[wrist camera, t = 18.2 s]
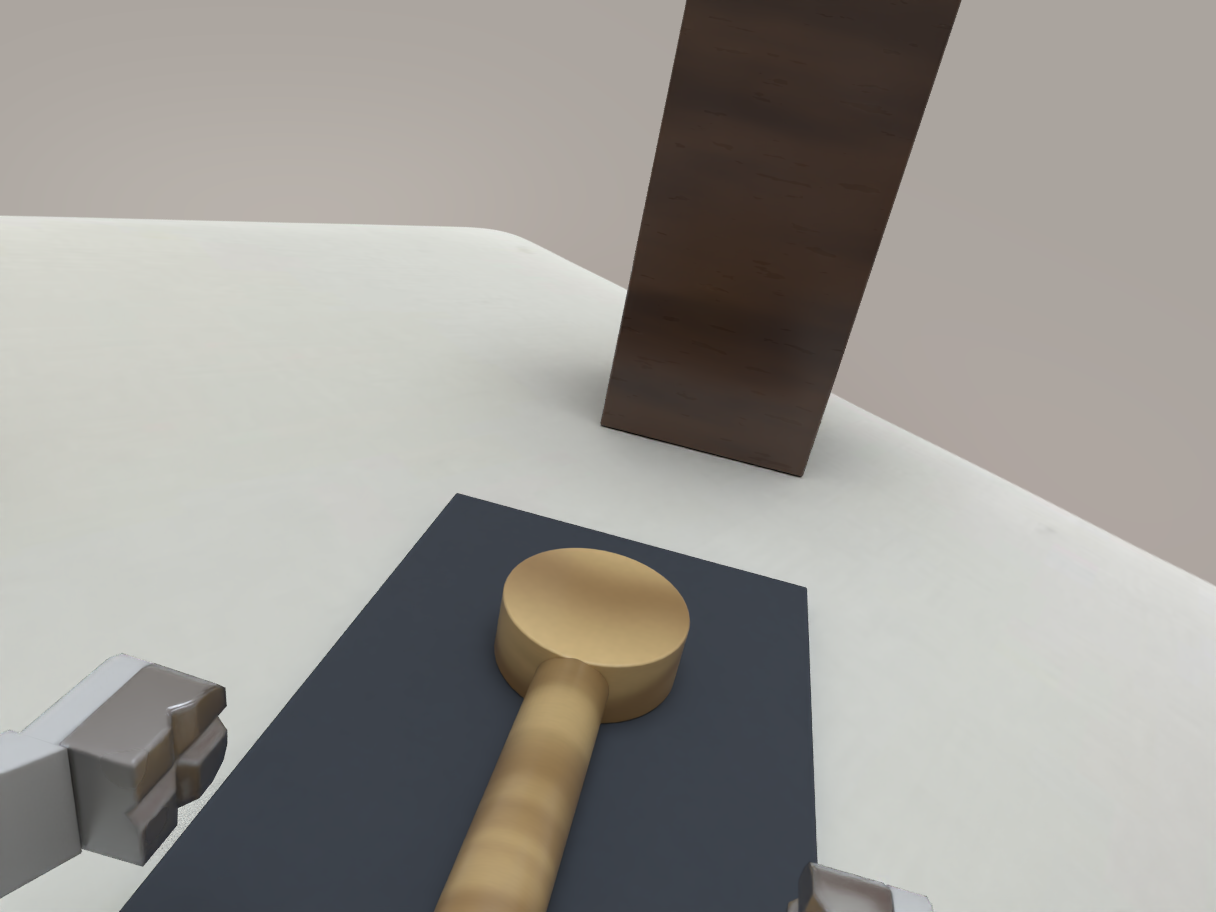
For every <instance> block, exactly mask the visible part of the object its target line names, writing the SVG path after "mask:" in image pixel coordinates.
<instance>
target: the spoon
mask: <svg viewBox="0 0 1216 912" xmlns="http://www.w3.org/2000/svg"><path fill="white" fill-rule="evenodd" d="M689 628H690V617H689V611H688V608H687V605H686V603H685V601H684V599H683V597H682V596H681V595H680V593H679V592H678V590H677V589H676V588H675V587H674V586H673V585H672V584H671V583H670V582H669V581H668V580H667V579H665V578H664V577H663V576H662V575H660V574H659V573H657V572H656V571H655V570H653V569H651V568H649V567H648V566H646V565H644V564H642V563H640V562H638V561H636V560H633V559H631V558H628V557H625V556H622V555H619V554H616V553H612V552H607V551H603V550H596V549H587V548H563V549H555V550H550V551H546V552H542V553H539V554H536V555H534V556H531V557H529V558H528V559H526V560H524V561H523V562H521V563H520V564H518V565H517V566H516V567H515V568H514V569H513V570H512V571H511V573H510V574H509V576H508V577H507V579H506V581H505V584H504V588H503V594H502V600H501V606H500V612H499V618H498V625H497V631H496V637H495V643H494V653H495V658H496V662H497V665H498V667H499V670H500V672H501V673H502V675H503V677H504V679H505V680H506V681H507V682H508V684H509V685H510V686H511V687H512V688H513V689H514V690H515V691H516V692H517V693H518V694H519V695H520V696H522V697H523V698H524V700H523V702H522V704H521V707H520V709H519V712H518V714H517V716H516V719H515V721H514V723H513V726H512V728H511V730H510V733H509V735H508V738H507V740H506V742H505V745H504V747H503V749H502V752H501V754H500V756H499V759H498V761H497V763H496V766H495V768H494V771H493V773H492V775H491V778H490V780H489V782H488V785H487V787H486V789H485V792H484V794H483V796H482V799H481V801H480V804H479V806H478V808H477V811H476V813H475V815H474V818H473V820H472V822H471V825H470V827H469V829H468V832H467V834H466V837H465V839H464V841H463V844H462V846H461V848H460V851H459V853H458V855H457V858H456V860H455V863H454V865H453V867H452V870H451V872H450V874H449V877H448V879H447V881H446V884H445V886H444V888H443V891H442V893H441V896H440V898H439V900H438V903H437V905H436V907H435V910H434V912H546V911H547V908H548V904H549V901H550V898H551V894H552V891H553V887H554V884H555V880H556V877H557V873H558V870H559V866H560V863H561V859H562V856H563V852H564V849H565V845H566V842H567V839H568V835H569V832H570V828H571V825H572V821H573V818H574V814H575V811H576V807H577V804H578V800H579V797H580V793H581V790H582V786H583V783H584V780H585V776H586V773H587V769H588V766H589V762H590V759H591V755H592V752H593V748H594V745H595V741H596V738H597V734H598V731H599V727H600V724H601V723H616V722H622V721H627V720H631V719H634V718H637V717H640V716H642V715H644V714H646V713H648V712H650V711H651V710H653V709H655V708H656V707H657V706H658V705H659V704H661V703H662V702H663V701H664V699H665V698H666V697H667V696H668V694H669V693H670V691H671V689H672V687H673V683H674V680H675V676H676V673H677V670H678V666H679V663H680V659H681V656H682V652H683V649H684V645H685V642H686V639H687V635H688V632H689Z"/></svg>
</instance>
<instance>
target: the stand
mask: <svg viewBox="0 0 1216 912" xmlns="http://www.w3.org/2000/svg"><path fill="white" fill-rule="evenodd" d="M960 3H961V0H686V5H685V10H684V15H683V20H682V25H681V30H680V35H679V40H678V45H677V49H676V55H675V59H674V65H673V69H672V74H671V79H670V84H669V89H668V94H667V99H666V104H665V108H664V114H663V118H662V123H661V128H660V133H659V138H658V143H657V148H656V153H655V158H654V163H653V167H652V172H651V178H650V183H649V187H648V192H647V197H646V202H645V207H644V212H643V217H642V222H641V227H640V232H639V236H638V241H637V246H636V251H635V256H634V261H633V266H632V271H631V276H630V281H629V286H628V291H627V295H626V300H625V305H624V310H623V315H622V320H621V325H620V330H619V335H618V340H617V345H616V350H615V355H614V359H613V364H612V369H611V374H610V379H609V384H608V389H607V394H606V399H605V404H604V409H603V414H602V419H601V425H603V426H607V427H611V428H615V429H619V430H623V431H627V432H630V433H634V434H638V435H642V436H646V437H650V438H654V439H658V440H661V441H665V442H669V443H673V444H677V445H681V446H685V447H689V448H692V449H696V450H700V451H704V452H708V453H712V454H716V455H720V456H724V457H727V458H731V459H735V460H739V461H743V462H747V463H751V464H755V465H758V466H762V467H766V468H770V469H774V470H778V471H782V472H786V473H789V474H793V475H797V476H803V474H804V471H805V468H806V465H807V462H808V459H809V456H810V453H811V450H812V447H813V444H814V441H815V438H816V435H817V432H818V429H819V426H820V423H821V420H822V417H823V414H824V411H825V408H826V405H827V402H828V399H829V396H830V393H831V390H832V387H833V384H834V381H835V378H836V375H837V372H838V369H839V366H840V363H841V360H842V357H843V354H844V351H845V348H846V345H847V342H848V339H849V336H850V333H851V330H852V327H853V324H854V321H855V318H856V315H857V312H858V309H859V306H860V303H861V300H862V297H863V294H864V291H865V288H866V285H867V282H868V279H869V276H870V273H871V270H872V267H873V264H874V261H875V258H876V255H877V252H878V249H879V246H880V243H881V240H882V237H883V234H884V231H885V228H886V225H887V222H888V219H889V216H890V213H891V210H892V207H893V204H894V201H895V198H896V195H897V192H898V189H899V186H900V183H901V180H902V177H903V174H904V171H905V168H906V165H907V162H908V159H909V156H910V153H911V150H912V147H913V144H914V141H915V138H916V135H917V132H918V129H919V126H920V123H921V120H922V117H923V114H924V111H925V108H926V105H927V102H928V99H929V96H930V93H931V90H932V87H933V84H934V81H935V78H936V75H937V72H938V69H939V66H940V63H941V60H942V57H943V54H944V51H945V48H946V45H947V42H948V39H949V36H950V33H951V30H952V27H953V24H954V21H955V18H956V15H957V12H958V9H959V6H960Z"/></svg>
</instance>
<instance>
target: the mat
mask: <svg viewBox="0 0 1216 912" xmlns="http://www.w3.org/2000/svg"><path fill="white" fill-rule="evenodd" d="M563 548H587V549H596V550H603V551H607V552H612V553H616V554H619V555H622V556H625V557H628V558H631V559H633V560H636V561H638V562H640V563H642V564H644V565H646V566H648V567H649V568H651V569H653V570H655V571H656V572H657V573H659V574H660V575H662V576H663V577H664V578H665V579H667V580H668V581H669V582H670V583H671V584H672V585H673V586H674V587H675V588H676V589H677V590H678V592H679V593H680V595H681V596H682V597H683V599H684V601H685V603H686V605H687V608H688V611H689V617H690V628H689V632H688V635H687V639H686V642H685V645H684V649H683V652H682V656H681V659H680V663H679V666H678V670H677V673H676V676H675V680H674V683H673V687H672V689H671V691H670V693H669V694H668V696H667V697H666V698H665V699H664V701H663V702H662V703H661V704H659V705H658V706H657V707H656V708H655V709H653V710H651V711H650V712H648V713H646V714H644V715H642V716H640V717H637V718H634V719H631V720H627V721H622V722H616V723H601V724H600V727H599V731H598V734H597V738H596V741H595V745H594V748H593V752H592V755H591V759H590V762H589V766H588V769H587V773H586V776H585V780H584V783H583V786H582V790H581V793H580V797H579V800H578V804H577V807H576V811H575V814H574V818H573V821H572V825H571V828H570V832H569V835H568V839H567V842H566V845H565V849H564V852H563V856H562V859H561V863H560V866H559V870H558V873H557V877H556V880H555V884H554V887H553V891H552V894H551V898H550V901H549V904H548V908H547V911H546V912H785V910H786V907H787V905H788V903H789V902H791V901H793V900H795V899H797V898H798V879H799V877H800V875H801V873H802V871H803V869H804V867H805V866H806V865H807V864H808V863H809V862H813V863H816V864H817V844H816V818H815V791H814V765H813V738H812V712H811V685H810V659H809V632H808V606H807V588H806V587H802V586H798V585H795V584H791V583H787V582H784V581H780V580H776V579H772V578H769V577H765V576H761V575H758V574H754V573H750V572H747V571H743V570H739V569H736V568H732V567H728V566H724V565H721V564H717V563H713V562H710V561H706V560H702V559H699V558H695V557H691V556H688V555H684V554H680V553H676V552H673V551H669V550H665V549H662V548H658V547H654V546H651V545H647V544H643V543H640V542H636V541H632V540H628V539H625V538H621V537H617V536H614V535H610V534H606V533H603V532H599V531H595V530H592V529H588V528H584V527H580V526H577V525H573V524H569V523H566V522H562V521H558V520H555V519H551V518H547V517H543V516H540V515H536V514H532V513H529V512H525V511H521V510H518V509H514V508H510V507H507V506H503V505H499V504H495V503H492V502H488V501H484V500H481V499H477V498H473V497H470V496H466V495H462V494H459V493H457V494H456V495H455V496H454V497H453V498H452V500H451V501H450V502H449V503H448V505H447V506H446V507H445V508H444V509H443V511H442V512H441V513H440V514H439V516H438V517H437V518H436V519H435V521H434V522H433V523H432V524H431V526H430V527H429V528H428V529H427V531H426V532H425V533H424V534H423V536H422V537H421V538H420V539H419V540H418V542H417V543H416V544H415V545H414V547H413V548H412V549H411V550H410V552H409V553H408V554H407V555H406V557H405V558H404V559H403V560H402V562H401V563H400V564H399V565H398V567H397V568H396V569H395V570H394V571H393V573H392V574H391V575H390V576H389V578H388V579H387V580H386V581H385V583H384V584H383V585H382V586H381V588H380V589H379V590H378V591H377V593H376V594H375V595H374V596H373V598H372V599H371V600H370V601H369V603H368V604H367V605H366V606H365V607H364V609H363V610H362V611H361V612H360V614H359V615H358V616H357V617H356V619H355V620H354V621H353V622H352V624H351V625H350V626H349V627H348V629H347V630H346V631H345V632H344V634H343V635H342V636H341V637H340V638H339V640H338V641H337V642H336V643H335V645H334V646H333V647H332V648H331V650H330V651H329V652H328V653H327V655H326V656H325V657H324V658H323V660H322V661H321V662H320V663H319V665H318V666H317V667H316V668H315V669H314V671H313V672H312V673H311V674H310V676H309V677H308V678H307V679H306V681H305V682H304V683H303V684H302V686H301V687H300V688H299V689H298V691H297V692H296V693H295V694H294V696H293V697H292V698H291V699H290V701H289V702H288V703H287V704H286V705H285V707H284V708H283V709H282V710H281V712H280V713H279V714H278V715H277V717H276V718H275V719H274V720H273V722H272V723H271V724H270V725H269V727H268V728H267V729H266V730H265V732H264V733H263V734H262V735H261V736H260V738H259V739H258V740H257V741H256V743H255V744H254V745H253V746H252V748H251V749H250V750H249V751H248V753H247V754H246V755H245V756H244V758H243V759H242V760H241V761H240V763H239V764H238V765H237V766H236V767H235V769H234V770H233V771H232V772H231V774H230V775H229V776H228V777H227V779H226V780H225V781H224V782H223V784H222V785H221V786H220V787H219V789H218V790H217V791H216V792H215V794H214V795H213V796H212V797H211V798H210V800H209V801H208V802H207V803H206V805H205V806H204V807H203V808H202V810H201V811H200V812H199V813H198V815H197V816H196V817H195V818H194V820H193V821H192V822H191V823H190V825H189V826H188V827H187V828H186V830H185V831H184V832H183V833H182V834H181V836H180V837H179V838H178V839H177V841H176V842H175V843H174V844H173V846H172V847H171V848H170V849H169V851H168V852H167V853H166V854H165V856H164V857H163V858H162V859H161V861H160V862H159V863H158V864H157V865H156V867H155V868H154V869H153V870H152V872H151V873H150V874H149V875H148V877H147V878H146V879H145V880H144V882H143V883H142V884H141V885H140V887H139V888H138V889H137V890H136V892H135V893H134V894H133V895H132V896H131V898H130V899H129V900H128V901H127V903H126V904H125V905H124V906H123V908H122V909H121V910H120V911H119V912H434V910H435V907H436V905H437V903H438V900H439V898H440V896H441V893H442V891H443V888H444V886H445V884H446V881H447V879H448V877H449V874H450V872H451V870H452V867H453V865H454V863H455V860H456V858H457V855H458V853H459V851H460V848H461V846H462V844H463V841H464V839H465V837H466V834H467V832H468V829H469V827H470V825H471V822H472V820H473V818H474V815H475V813H476V811H477V808H478V806H479V804H480V801H481V799H482V796H483V794H484V792H485V789H486V787H487V785H488V782H489V780H490V778H491V775H492V773H493V771H494V768H495V766H496V763H497V761H498V759H499V756H500V754H501V752H502V749H503V747H504V745H505V742H506V740H507V738H508V735H509V733H510V730H511V728H512V726H513V723H514V721H515V719H516V716H517V714H518V712H519V709H520V707H521V704H522V702H523V700H524V698H523V697H522V696H520V695H519V694H518V693H517V692H516V691H515V690H514V689H513V688H512V687H511V686H510V685H509V684H508V682H507V681H506V680H505V679H504V677H503V675H502V673H501V672H500V670H499V667H498V665H497V662H496V658H495V653H494V643H495V637H496V631H497V625H498V618H499V612H500V606H501V600H502V594H503V588H504V584H505V581H506V579H507V577H508V576H509V574H510V573H511V571H512V570H513V569H514V568H515V567H516V566H517V565H518V564H520V563H521V562H523V561H524V560H526V559H528V558H529V557H531V556H534V555H536V554H539V553H542V552H546V551H550V550H555V549H563Z"/></svg>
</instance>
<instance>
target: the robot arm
mask: <svg viewBox="0 0 1216 912" xmlns="http://www.w3.org/2000/svg"><path fill="white" fill-rule="evenodd" d="M226 706H227V704H226V691H225V687H222V686H220V685H218V684H216V683H213V682H210V681H207V680H204V679H201V678H198V677H195V676H192V675H189V674H186V673H183V672H180V671H177V670H174V669H171V668H168V667H165V666H162V665H158V664H155V663H151V662H148V661H145V660H142V659H139V658H136V657H133V656H130V655H126V654H123V653H121V654H118V655H116V656H113V657H110V658H108V659H107V660H106V661H104V662H103V663H102V664H101V665H100V666H98V667H97V668H96V669H95V670H94V671H93V672H91V673H90V674H89V675H88V676H87V677H85V678H84V679H83V680H82V681H81V682H79V683H78V684H77V685H76V686H75V687H74V688H72V689H71V690H70V691H69V692H68V693H66V694H65V695H64V696H63V697H62V698H60V699H59V700H58V701H57V702H56V703H54V704H53V705H52V706H51V707H50V708H49V709H47V710H46V711H45V712H44V713H43V714H41V715H40V716H39V717H38V718H37V719H35V720H34V721H33V722H32V723H31V724H30V725H28V726H27V727H26V728H25V729H24V730H22V731H21V732H20V733H19V732H15V731H12V730H8V731H5V732H2V733H0V898H2V897H4V896H5V895H7V894H9V893H11V892H13V891H14V890H16V889H18V888H20V887H22V886H23V885H25V884H27V883H29V882H30V881H32V880H34V879H36V878H38V877H39V876H41V875H43V874H45V873H46V872H48V871H50V870H52V869H54V868H55V867H57V866H59V865H61V864H63V863H64V862H66V861H68V860H70V859H71V858H73V857H75V856H77V855H79V854H80V853H81V852H82V850H81V849H84V850H88V851H91V852H95V853H98V854H101V855H105V856H108V857H112V858H115V859H119V860H122V861H125V862H129V863H132V864H136V865H139V866H142V867H143V866H144V865H145V863H146V862H147V861H148V860H149V859H150V857H151V856H152V855H153V854H154V853H155V851H156V850H157V849H158V848H159V847H160V845H161V844H162V843H163V842H164V840H165V839H166V838H167V837H168V836H169V834H170V833H171V832H172V831H173V830H174V828H175V827H176V826H177V817H178V808H179V807H181V806H183V805H186V804H188V803H190V802H192V801H194V800H197V799H199V798H200V797H201V795H202V794H203V793H204V792H205V790H206V789H207V788H208V787H209V785H210V784H211V783H212V782H213V780H214V778H215V776H216V774H217V772H218V770H219V768H220V766H221V764H222V762H223V760H224V756H225V751H226V747H227V729H226V728H225V726H224V725H223V723H222V722H221V720H220V719H219V717H218V715H219V714H220V713H221V712H222V711H223V710H224V708H225V707H226ZM785 912H933V907H932V904H931V902H930V901H929V899H928V897H927V896H924V895H920V894H917V893H914V892H910V891H907V890H904V889H900V888H897V887H894V886H890V885H885V884H884V883H882V882H878V881H875V880H872V879H868V878H865V877H861V876H858V875H854V874H851V873H847V872H844V871H840V870H837V869H833V868H830V867H826V866H823V865H819V864H816V863H813V862H809V863H808V864H807V865H806V866H805V867H804V869H803V871H802V873H801V875H800V877H799V879H798V898H797V899H795V900H793V901H791V902H789V903H788V905H787V907H786V910H785Z"/></svg>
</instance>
